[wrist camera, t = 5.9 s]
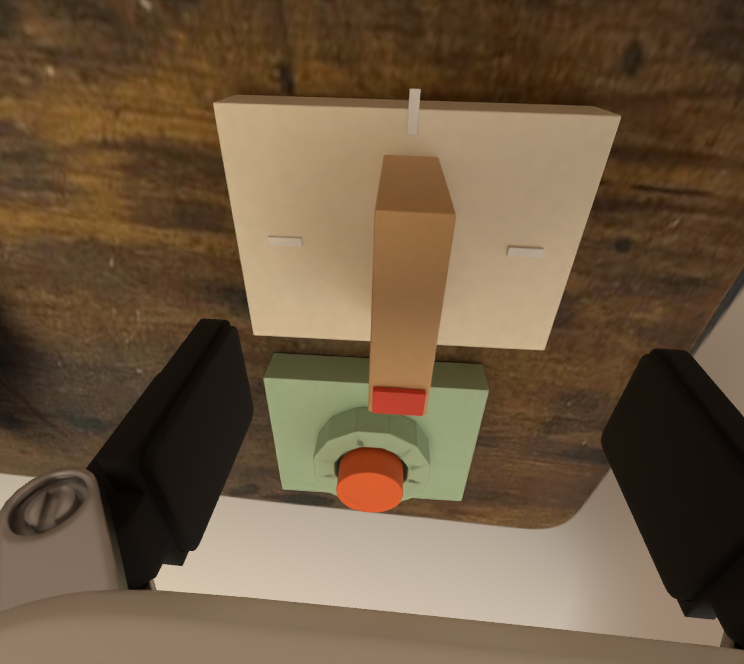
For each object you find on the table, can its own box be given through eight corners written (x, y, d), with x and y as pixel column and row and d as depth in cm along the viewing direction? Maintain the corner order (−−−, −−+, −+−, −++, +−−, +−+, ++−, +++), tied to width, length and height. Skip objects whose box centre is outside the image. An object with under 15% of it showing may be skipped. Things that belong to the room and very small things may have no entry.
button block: (482, 363, 24) (495, 415, 20) (457, 473, 29) (464, 527, 26) (273, 352, 24) (253, 401, 21) (289, 462, 30) (275, 514, 26)
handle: (383, 154, 15) (374, 213, 10) (438, 157, 15) (457, 217, 10) (376, 316, 19) (367, 417, 14) (420, 318, 19) (426, 420, 14)
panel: (599, 87, 16) (631, 95, 13) (528, 331, 22) (542, 362, 20) (232, 76, 16) (206, 82, 14) (268, 317, 23) (254, 347, 20)
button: (405, 447, 23) (405, 475, 21) (400, 487, 25) (400, 515, 23) (339, 443, 23) (335, 470, 21) (340, 483, 25) (336, 510, 23)
